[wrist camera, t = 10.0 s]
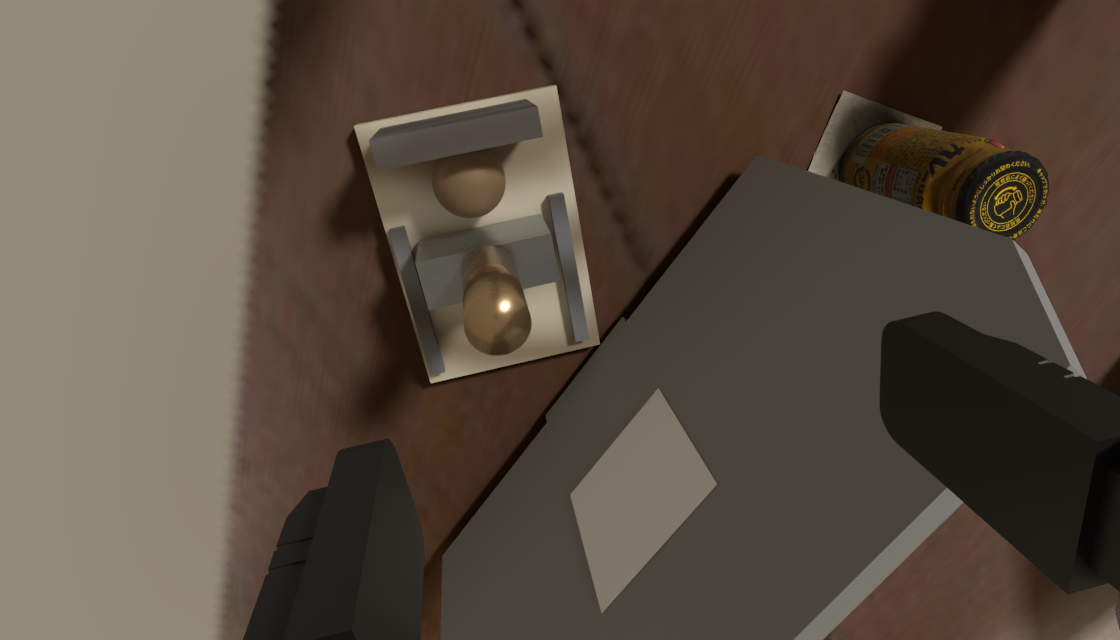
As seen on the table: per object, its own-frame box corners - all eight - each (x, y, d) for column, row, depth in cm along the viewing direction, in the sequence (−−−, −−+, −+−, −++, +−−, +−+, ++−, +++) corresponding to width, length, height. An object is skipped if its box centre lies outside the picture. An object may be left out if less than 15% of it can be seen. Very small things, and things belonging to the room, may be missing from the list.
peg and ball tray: (356, 124, 40) (337, 138, 33) (553, 84, 40) (573, 90, 34) (431, 375, 47) (427, 428, 40) (596, 337, 48) (619, 383, 41)
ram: (418, 238, 41) (405, 313, 29) (540, 212, 42) (574, 275, 30) (431, 283, 43) (423, 373, 31) (548, 258, 43) (585, 336, 31)
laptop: (699, 652, 63) (869, 1068, 37) (442, 537, 53) (431, 997, 27) (985, 354, 54) (1468, 628, 28) (743, 149, 44) (1149, 284, 18)
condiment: (893, 223, 48) (1023, 274, 37) (796, 193, 46) (904, 237, 35) (940, 126, 46) (1094, 149, 35) (841, 90, 43) (971, 102, 33)
